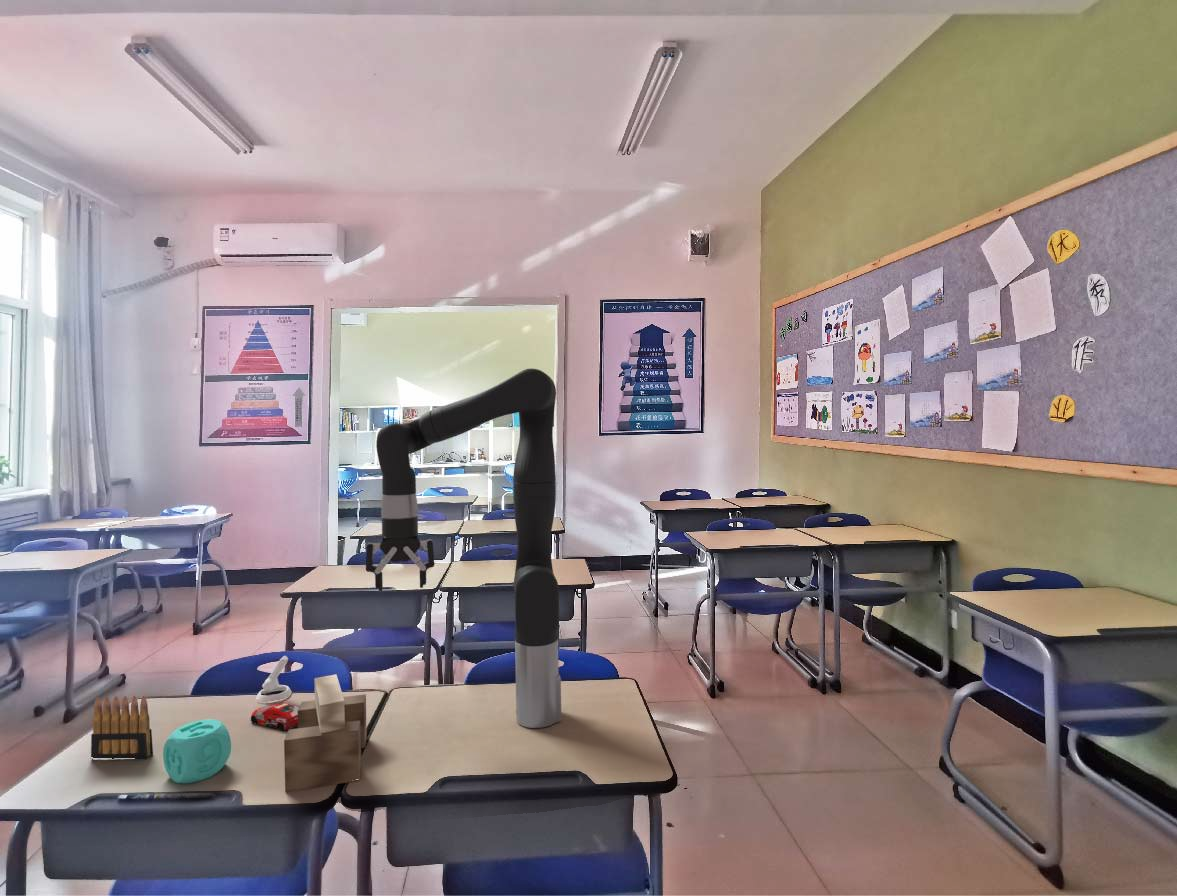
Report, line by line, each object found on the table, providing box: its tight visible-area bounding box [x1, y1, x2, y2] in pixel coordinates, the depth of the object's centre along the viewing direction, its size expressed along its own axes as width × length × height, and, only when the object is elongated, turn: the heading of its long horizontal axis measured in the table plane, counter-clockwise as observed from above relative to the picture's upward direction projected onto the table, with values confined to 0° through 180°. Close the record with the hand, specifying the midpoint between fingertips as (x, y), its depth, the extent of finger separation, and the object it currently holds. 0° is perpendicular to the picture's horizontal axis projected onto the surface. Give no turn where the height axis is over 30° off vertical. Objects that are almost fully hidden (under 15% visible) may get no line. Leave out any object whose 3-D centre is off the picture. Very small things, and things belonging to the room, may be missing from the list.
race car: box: [250, 702, 299, 731], centre depth 131 cm, size 13×5×4 cm, turn 66°
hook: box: [255, 655, 293, 702], centre depth 144 cm, size 8×12×7 cm
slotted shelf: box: [283, 694, 368, 793], centre depth 114 cm, size 12×16×9 cm
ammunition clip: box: [90, 695, 154, 760], centre depth 117 cm, size 11×2×12 cm, turn 91°
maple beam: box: [313, 673, 345, 733], centre depth 114 cm, size 4×14×5 cm, turn 28°
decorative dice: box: [162, 718, 232, 784], centre depth 112 cm, size 8×8×8 cm
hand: (401, 588), depth 132 cm, fingers open, 8 cm apart
